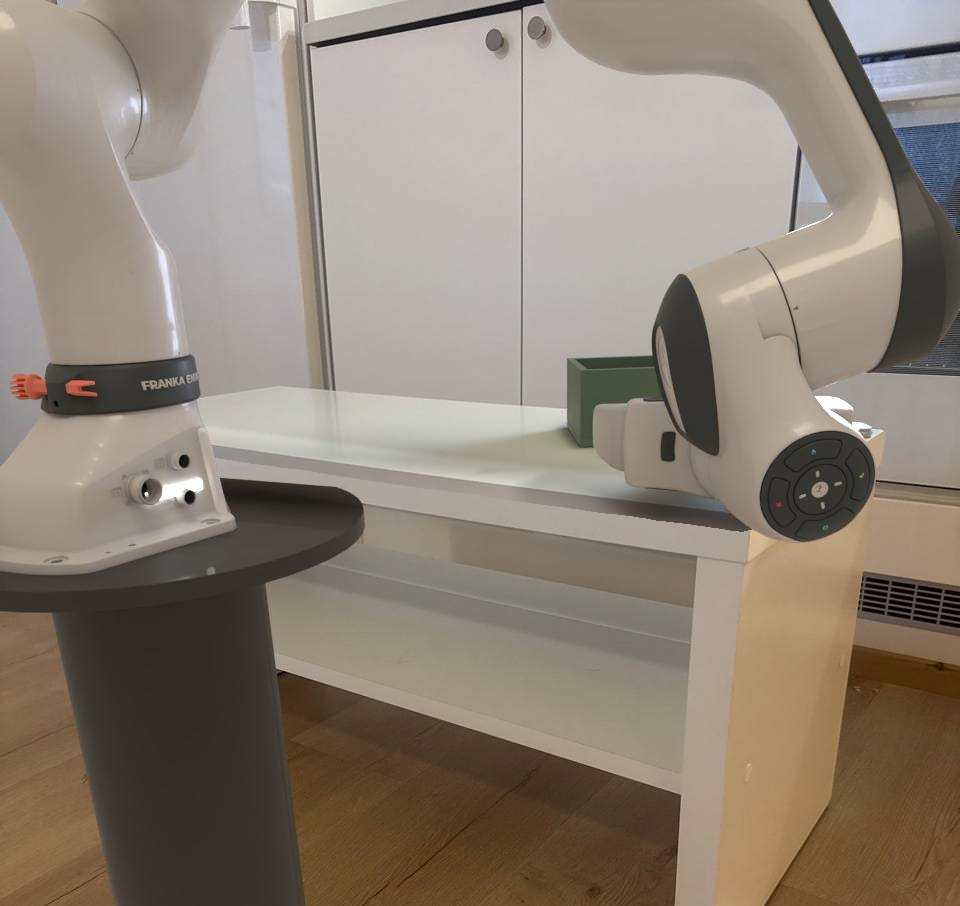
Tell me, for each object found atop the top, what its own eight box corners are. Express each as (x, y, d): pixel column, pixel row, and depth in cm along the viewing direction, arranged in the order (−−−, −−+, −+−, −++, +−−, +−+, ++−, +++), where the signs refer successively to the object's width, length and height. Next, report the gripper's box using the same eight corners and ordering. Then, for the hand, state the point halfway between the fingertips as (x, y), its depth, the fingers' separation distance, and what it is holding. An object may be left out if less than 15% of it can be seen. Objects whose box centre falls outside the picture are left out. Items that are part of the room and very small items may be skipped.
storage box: (699, 442, 99) (704, 365, 96) (580, 447, 99) (580, 370, 96) (673, 423, 111) (676, 354, 108) (566, 427, 111) (567, 358, 108)
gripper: (887, 392, 69) (819, 371, 82) (609, 402, 69) (584, 379, 82) (876, 477, 71) (812, 444, 84) (607, 487, 71) (583, 452, 84)
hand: (698, 412), depth 83 cm, fingers closed on supplement bottle, 5 cm apart
